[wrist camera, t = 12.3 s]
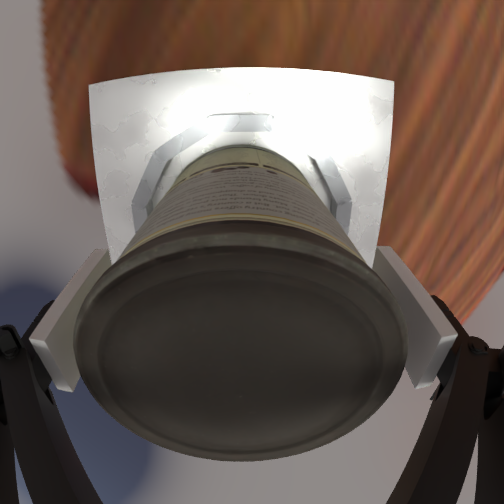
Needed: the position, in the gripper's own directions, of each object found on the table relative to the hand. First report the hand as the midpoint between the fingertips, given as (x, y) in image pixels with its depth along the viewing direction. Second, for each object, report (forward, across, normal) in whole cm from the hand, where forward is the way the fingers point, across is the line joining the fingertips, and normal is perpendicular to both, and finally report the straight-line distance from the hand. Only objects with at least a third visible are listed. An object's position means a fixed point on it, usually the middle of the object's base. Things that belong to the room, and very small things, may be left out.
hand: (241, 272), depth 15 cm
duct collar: (+8, 0, 0) cm, 8 cm away
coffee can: (+7, 0, 0) cm, 7 cm away
